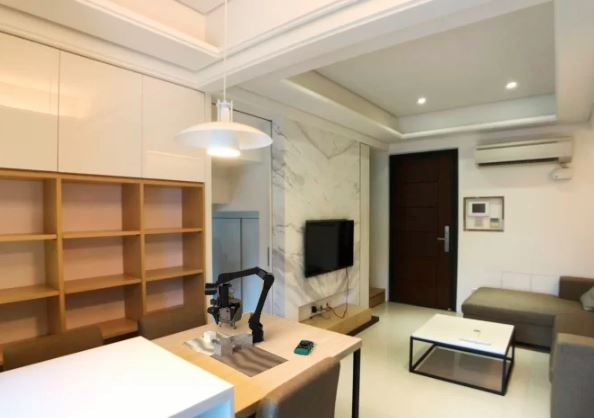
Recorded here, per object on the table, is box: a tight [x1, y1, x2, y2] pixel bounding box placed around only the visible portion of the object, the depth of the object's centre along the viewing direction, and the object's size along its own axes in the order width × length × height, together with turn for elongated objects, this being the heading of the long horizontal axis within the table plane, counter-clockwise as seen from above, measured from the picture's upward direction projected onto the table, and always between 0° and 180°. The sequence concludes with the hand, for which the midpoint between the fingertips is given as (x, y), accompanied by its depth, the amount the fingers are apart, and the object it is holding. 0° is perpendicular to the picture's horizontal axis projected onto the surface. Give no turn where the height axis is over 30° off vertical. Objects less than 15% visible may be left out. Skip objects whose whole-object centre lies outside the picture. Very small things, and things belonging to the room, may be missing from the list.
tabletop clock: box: [216, 286, 243, 330], centre depth 220 cm, size 14×9×25 cm, turn 68°
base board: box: [182, 331, 290, 378], centre depth 180 cm, size 24×57×1 cm, turn 48°
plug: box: [203, 330, 226, 343], centre depth 191 cm, size 4×19×4 cm, turn 47°
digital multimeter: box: [293, 339, 314, 356], centre depth 186 cm, size 7×15×3 cm, turn 164°
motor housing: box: [214, 332, 253, 359], centre depth 180 cm, size 20×6×6 cm, turn 138°
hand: (224, 322), depth 193 cm, fingers open, 9 cm apart
